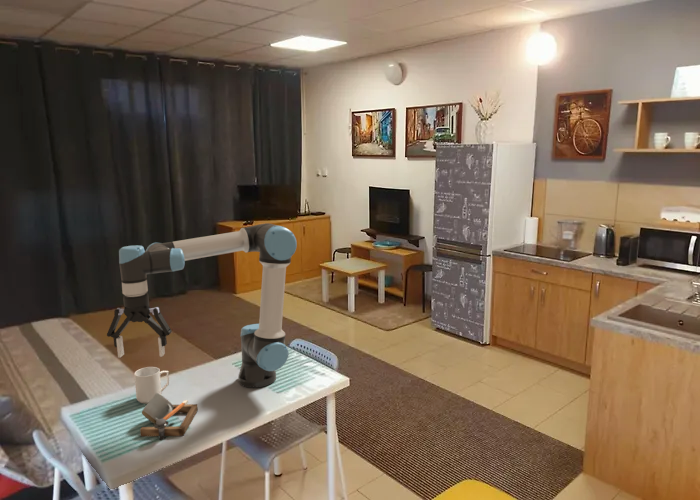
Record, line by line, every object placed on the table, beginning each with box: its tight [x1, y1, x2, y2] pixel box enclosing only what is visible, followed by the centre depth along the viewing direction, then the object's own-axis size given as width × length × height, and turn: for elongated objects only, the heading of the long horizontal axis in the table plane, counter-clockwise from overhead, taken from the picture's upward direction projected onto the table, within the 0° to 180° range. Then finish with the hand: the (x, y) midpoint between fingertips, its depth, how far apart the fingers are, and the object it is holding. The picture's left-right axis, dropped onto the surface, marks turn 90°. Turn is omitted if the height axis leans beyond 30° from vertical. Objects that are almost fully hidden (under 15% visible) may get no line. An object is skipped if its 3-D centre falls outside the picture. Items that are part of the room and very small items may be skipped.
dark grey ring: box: [153, 420, 169, 441], centre depth 158 cm, size 4×4×5 cm
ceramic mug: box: [141, 393, 174, 425], centre depth 166 cm, size 11×8×8 cm
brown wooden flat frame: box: [139, 403, 199, 437], centre depth 167 cm, size 14×16×2 cm
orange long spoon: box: [156, 399, 189, 426], centre depth 164 cm, size 3×16×1 cm, turn 165°
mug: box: [133, 366, 170, 405], centre depth 185 cm, size 12×9×11 cm
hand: (141, 355), depth 161 cm, fingers open, 13 cm apart
